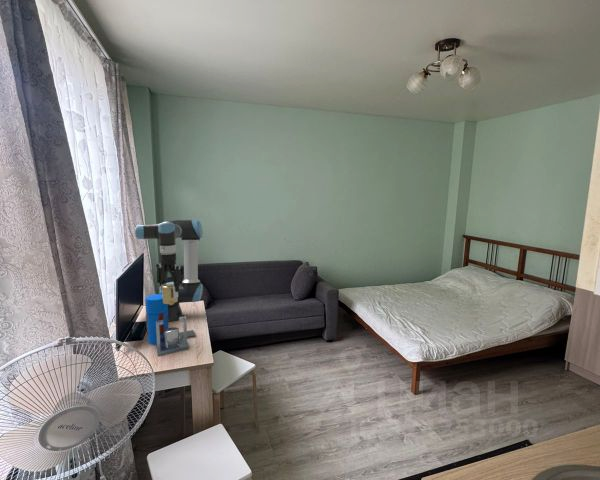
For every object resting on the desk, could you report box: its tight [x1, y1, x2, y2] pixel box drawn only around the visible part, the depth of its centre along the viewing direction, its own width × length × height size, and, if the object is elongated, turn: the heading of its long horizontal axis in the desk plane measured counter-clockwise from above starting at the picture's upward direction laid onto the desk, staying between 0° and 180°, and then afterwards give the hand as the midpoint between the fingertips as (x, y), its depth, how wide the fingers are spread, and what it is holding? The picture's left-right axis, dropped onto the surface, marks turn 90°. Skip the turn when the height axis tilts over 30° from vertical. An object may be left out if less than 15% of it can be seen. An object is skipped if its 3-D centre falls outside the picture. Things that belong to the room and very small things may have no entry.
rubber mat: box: [179, 329, 196, 339], centre depth 176 cm, size 8×8×1 cm
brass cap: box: [162, 284, 178, 305], centre depth 158 cm, size 11×7×9 cm, turn 28°
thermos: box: [145, 293, 170, 346], centre depth 168 cm, size 11×11×25 cm
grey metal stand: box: [155, 316, 190, 357], centre depth 160 cm, size 11×15×16 cm
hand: (170, 296), depth 158 cm, fingers closed on brass cap, 6 cm apart
